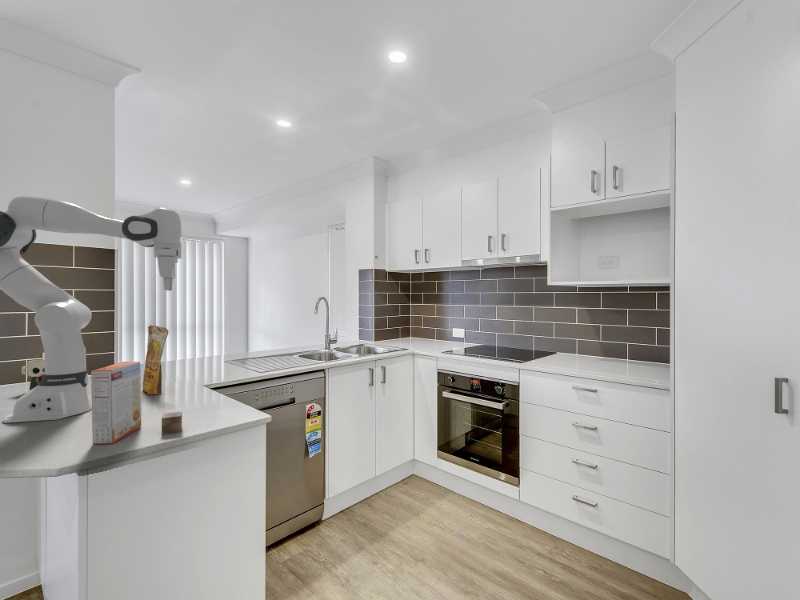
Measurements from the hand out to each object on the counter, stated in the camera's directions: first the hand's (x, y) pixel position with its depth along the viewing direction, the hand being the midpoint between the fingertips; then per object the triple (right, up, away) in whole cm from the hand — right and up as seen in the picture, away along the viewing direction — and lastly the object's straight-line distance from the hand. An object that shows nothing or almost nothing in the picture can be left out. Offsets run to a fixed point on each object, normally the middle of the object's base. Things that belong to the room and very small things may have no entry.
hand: (168, 290), depth 143 cm
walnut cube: (+16, -44, -25) cm, 53 cm away
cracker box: (+3, -44, -29) cm, 53 cm away
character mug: (-69, -43, +23) cm, 84 cm away
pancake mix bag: (-20, -43, +23) cm, 53 cm away
